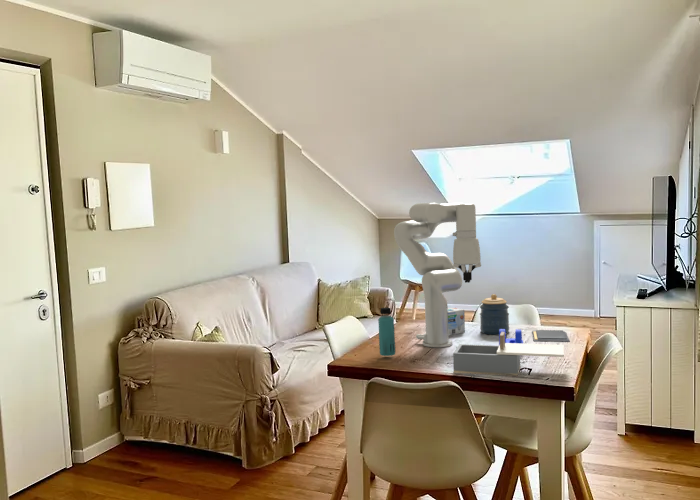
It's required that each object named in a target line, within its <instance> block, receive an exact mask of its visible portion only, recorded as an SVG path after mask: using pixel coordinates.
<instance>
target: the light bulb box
mask: <svg viewBox="0 0 700 500" xmlns="http://www.w3.org/2000/svg"><path fill="white" fill-rule="evenodd" d="M465 313H466V312H465V309H463V308H458V307H453V308H452V307H451V308H448V336H449V335H457V334H463V332H464V333H465V331H466V327H465V326H466V325H465V324H466V323H465V322H466V321H465V320H466V319H465Z"/></svg>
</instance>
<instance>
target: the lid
mask: <svg viewBox="0 0 700 500" xmlns="http://www.w3.org/2000/svg"><path fill="white" fill-rule="evenodd" d="M498 346H499V348H498V350H497V354H501V355H520V356H527V357H528V356H529V357H531V356H532V357H550V358H553V357H554V358H564V357H565V345H564V344H549V343H548V344H546V343H544V344H543V343H523V344H521V343H505V332H501V334H500V345H499V344H498Z"/></svg>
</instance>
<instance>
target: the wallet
mask: <svg viewBox="0 0 700 500" xmlns="http://www.w3.org/2000/svg"><path fill="white" fill-rule="evenodd" d="M531 334H532V340H533V342H537V343H538V342H540V343H543V342H544V343H546V342H547V343H570V342H571V341H570V339H569V336H568V334H567V332H566V331H564V330H563V329H562V330H560V329H559V330H558V329H556V330H555V329H537V330H535V331H534V330H533V331H531Z"/></svg>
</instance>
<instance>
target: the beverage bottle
mask: <svg viewBox="0 0 700 500" xmlns="http://www.w3.org/2000/svg"><path fill="white" fill-rule="evenodd" d="M379 313H380V315H381V314H382V315H381V316H380V317H379V318H378V319H377V321H378V342H379V343H378V344H379V345H378V348H379V355H380V356H383V357H390V356H395V355H396V337H395V335H396V334H395V318H394V317H393V316H392V315H389V314H391V313H392V311H391V307H381V308H380V312H379Z"/></svg>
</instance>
